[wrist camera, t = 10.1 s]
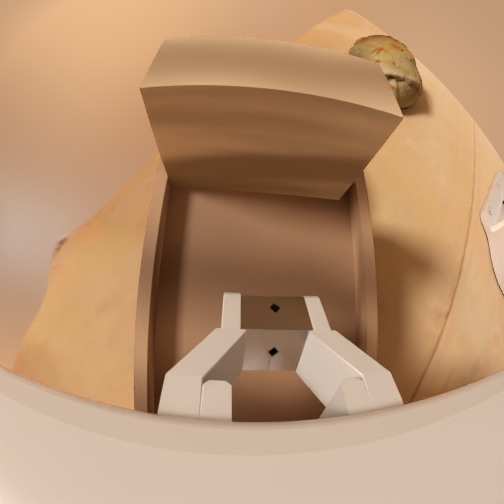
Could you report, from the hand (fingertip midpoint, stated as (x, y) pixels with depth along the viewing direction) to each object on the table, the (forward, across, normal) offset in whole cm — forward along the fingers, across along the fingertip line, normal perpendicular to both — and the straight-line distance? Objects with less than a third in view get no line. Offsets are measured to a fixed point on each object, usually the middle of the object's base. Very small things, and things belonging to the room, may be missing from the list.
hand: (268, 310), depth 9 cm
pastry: (+33, -19, -15) cm, 41 cm away
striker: (+8, 0, -3) cm, 9 cm away
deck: (+10, 0, +8) cm, 13 cm away
